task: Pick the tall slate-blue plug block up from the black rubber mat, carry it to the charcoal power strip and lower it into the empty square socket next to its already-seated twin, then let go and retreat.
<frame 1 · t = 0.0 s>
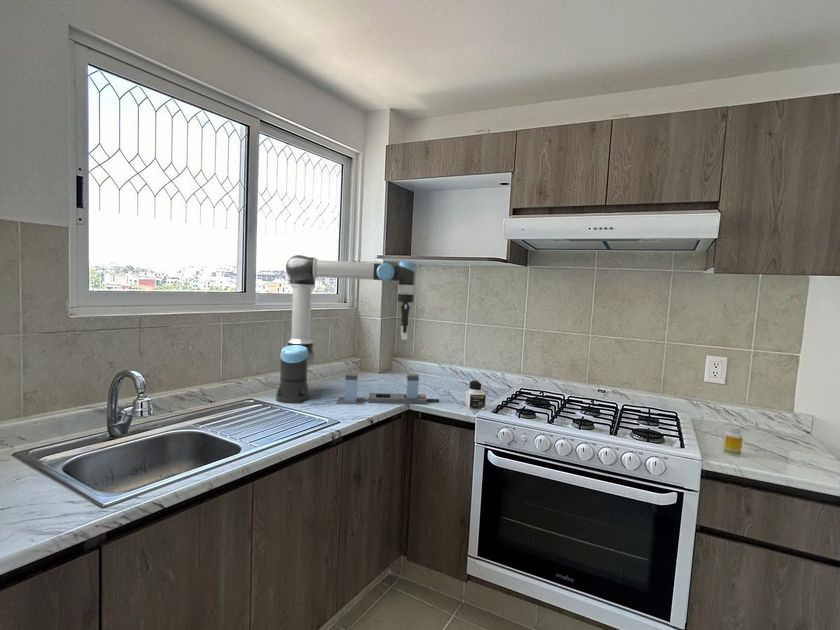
hand: (403, 337, 217), 28 cm above the worktop, fingers open, 13 cm apart
mat: (350, 401, 202), on the worktop
plug: (350, 400, 202), resting on mat
strip: (397, 402, 203), on the worktop
medicine bottle: (475, 407, 202), on the worktop
supplement bottle: (731, 454, 158), on the worktop
twin plug: (411, 401, 204), point 1 cm above the worktop, touching strip
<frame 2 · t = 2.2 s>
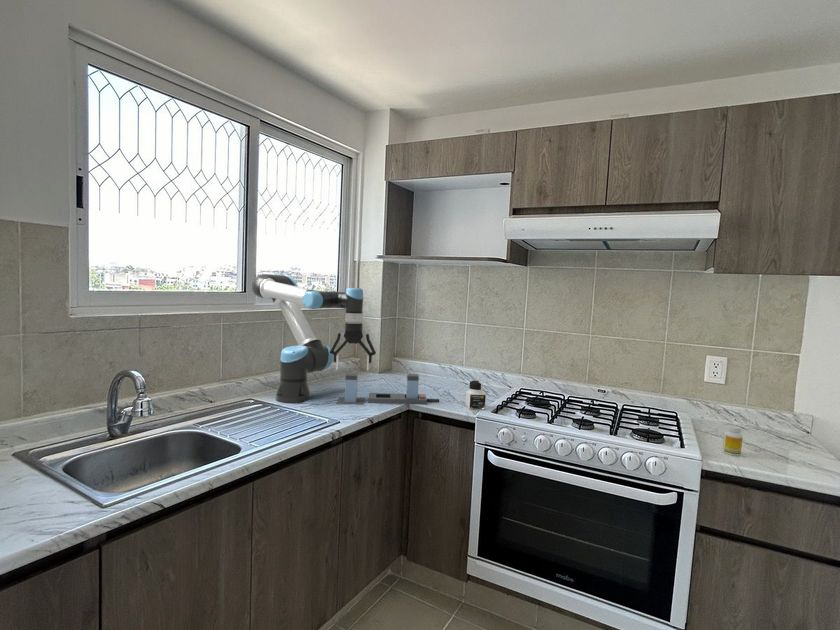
hand: (352, 369, 200), 14 cm above the worktop, fingers open, 13 cm apart
nothing on the worktop moved.
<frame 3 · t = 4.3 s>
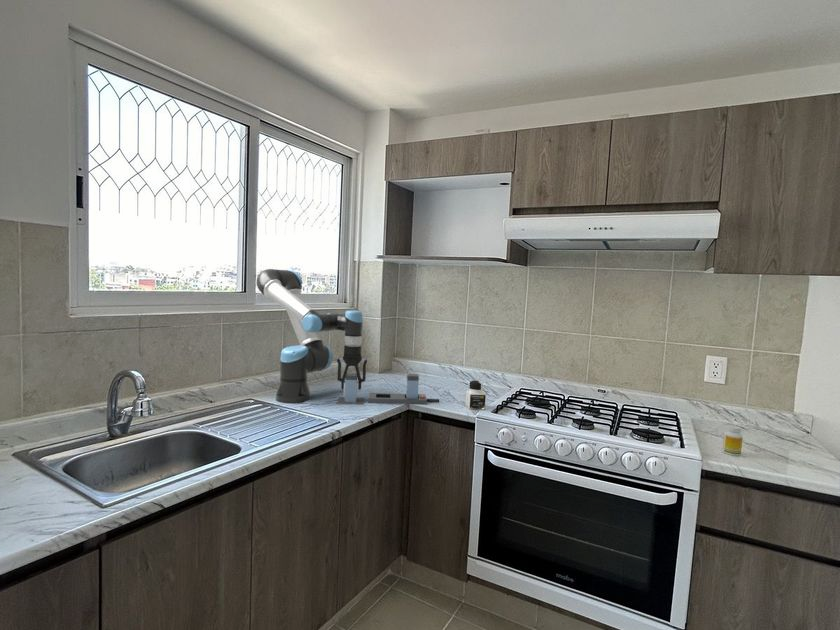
hand: (350, 396, 201), 2 cm above the worktop, fingers closed on plug, 5 cm apart
plug: (350, 400, 202), resting on mat, touching gripper
everything else where it was.
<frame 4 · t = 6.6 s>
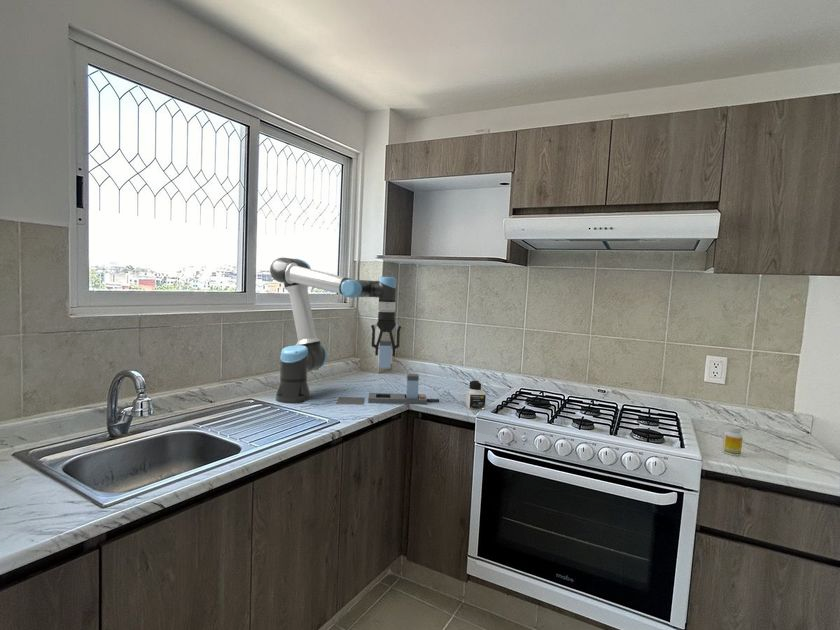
hand: (384, 362, 201), 18 cm above the worktop, fingers closed on plug, 5 cm apart
plug: (384, 367, 201), point 16 cm above the worktop, touching gripper
everything else where it was.
when the fingers open (4 cm above the worktop, at t = 8.8 s): plug stays where it is, resting on strip.
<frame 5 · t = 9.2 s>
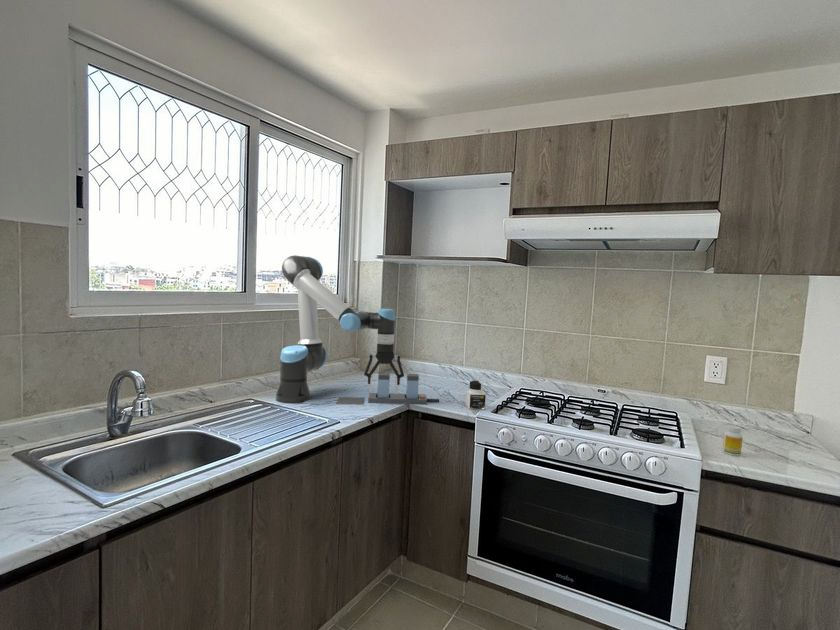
hand: (383, 391, 202), 5 cm above the worktop, fingers open, 10 cm apart
plug: (383, 400, 203), point 1 cm above the worktop, touching strip
everything else where it was.
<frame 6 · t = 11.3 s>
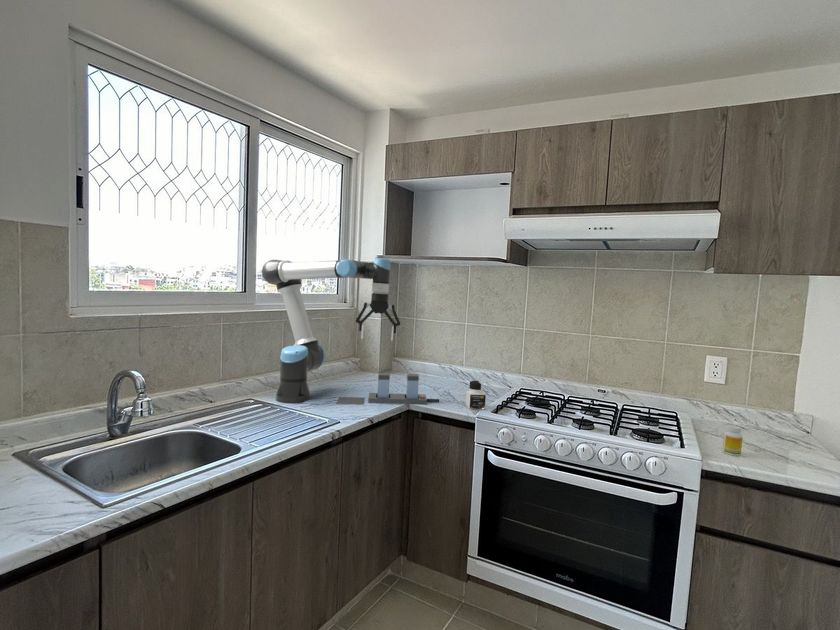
hand: (376, 339, 204), 28 cm above the worktop, fingers open, 13 cm apart
nothing on the worktop moved.
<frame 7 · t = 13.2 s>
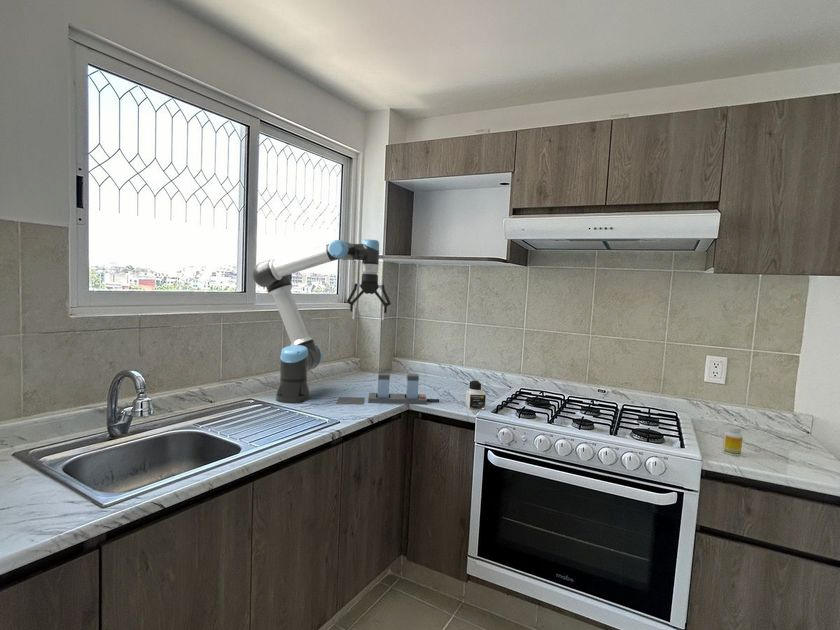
hand: (368, 319, 208), 37 cm above the worktop, fingers open, 13 cm apart
nothing on the worktop moved.
at the end: plug 0.1 cm from the target spot on the strip, point 1.0 cm above the strip's base; plug tilted 0°; the gripper is holding nothing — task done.
